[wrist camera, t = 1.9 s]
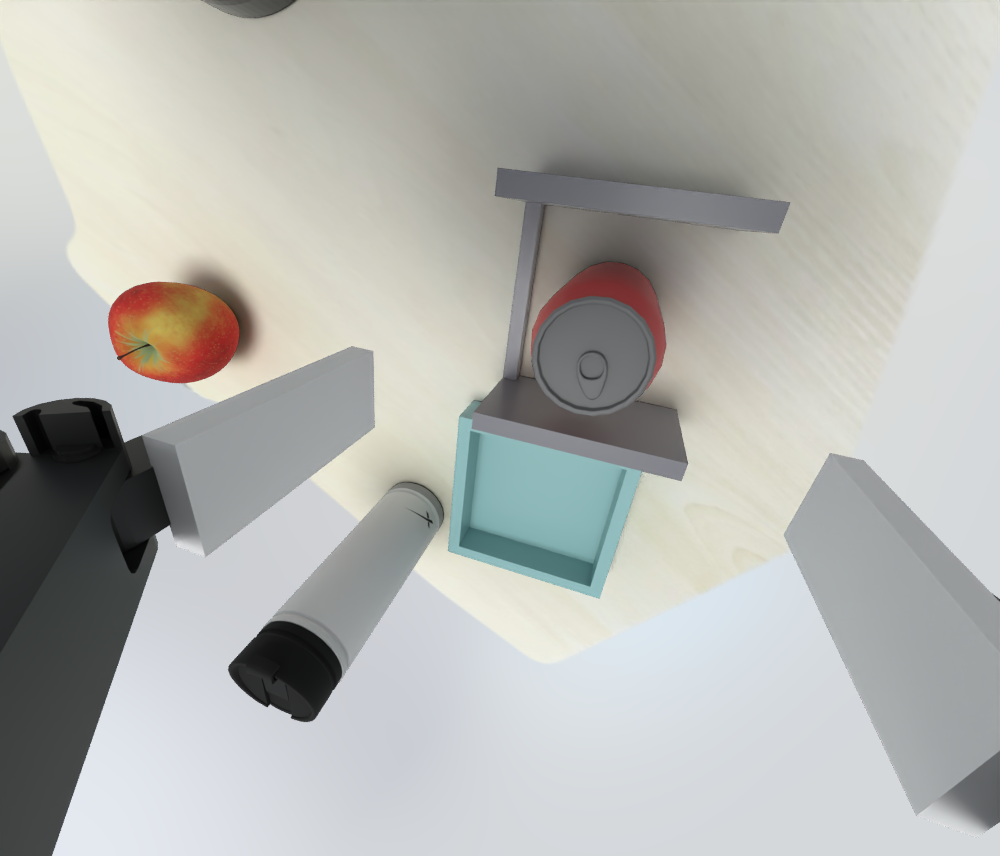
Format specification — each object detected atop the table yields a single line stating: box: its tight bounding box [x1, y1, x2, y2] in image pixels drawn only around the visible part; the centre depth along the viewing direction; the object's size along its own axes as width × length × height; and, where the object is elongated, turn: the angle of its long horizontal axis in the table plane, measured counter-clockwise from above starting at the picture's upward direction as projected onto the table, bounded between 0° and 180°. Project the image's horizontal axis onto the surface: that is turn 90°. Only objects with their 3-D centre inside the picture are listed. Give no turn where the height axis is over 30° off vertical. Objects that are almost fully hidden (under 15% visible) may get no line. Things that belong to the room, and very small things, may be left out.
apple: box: [108, 282, 239, 383], centre depth 35 cm, size 8×8×10 cm
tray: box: [448, 400, 642, 598], centre depth 36 cm, size 14×14×3 cm
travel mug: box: [228, 483, 443, 722], centre depth 34 cm, size 6×7×20 cm
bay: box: [472, 168, 790, 481], centre depth 26 cm, size 14×13×8 cm
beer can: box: [531, 262, 666, 416], centre depth 24 cm, size 7×7×12 cm
